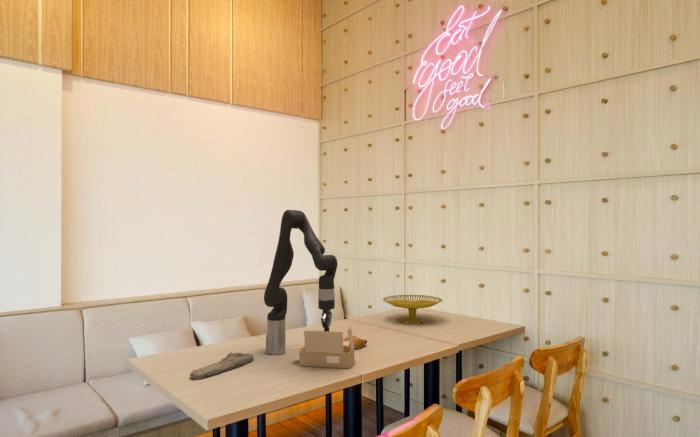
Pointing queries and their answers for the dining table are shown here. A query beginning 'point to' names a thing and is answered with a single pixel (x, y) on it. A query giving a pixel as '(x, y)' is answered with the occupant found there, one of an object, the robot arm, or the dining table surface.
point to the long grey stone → (222, 365)
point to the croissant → (357, 342)
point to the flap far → (350, 338)
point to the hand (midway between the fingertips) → (326, 335)
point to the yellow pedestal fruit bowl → (412, 305)
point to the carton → (326, 357)
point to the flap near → (323, 341)
